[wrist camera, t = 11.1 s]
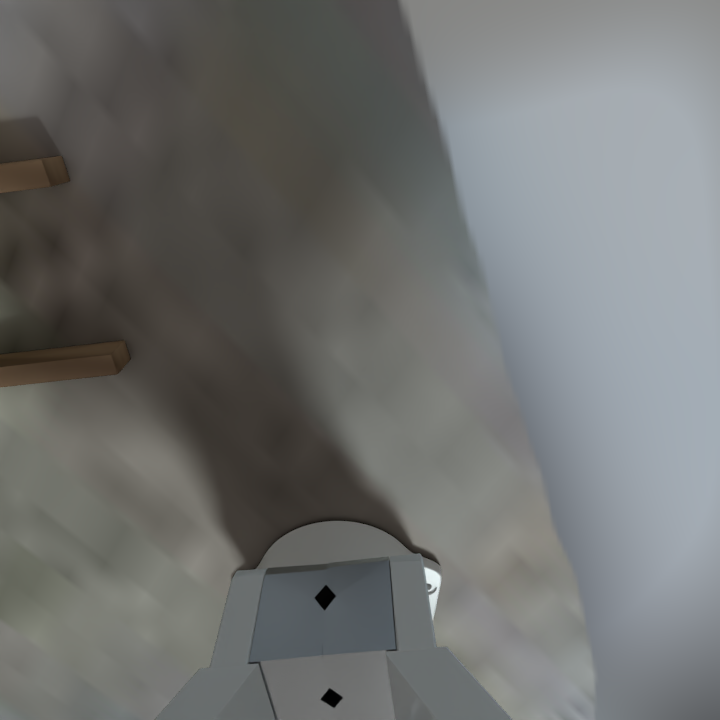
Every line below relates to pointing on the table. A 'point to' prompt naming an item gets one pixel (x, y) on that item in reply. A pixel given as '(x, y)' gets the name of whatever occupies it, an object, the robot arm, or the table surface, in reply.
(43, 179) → the beam slot
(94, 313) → the table surface
